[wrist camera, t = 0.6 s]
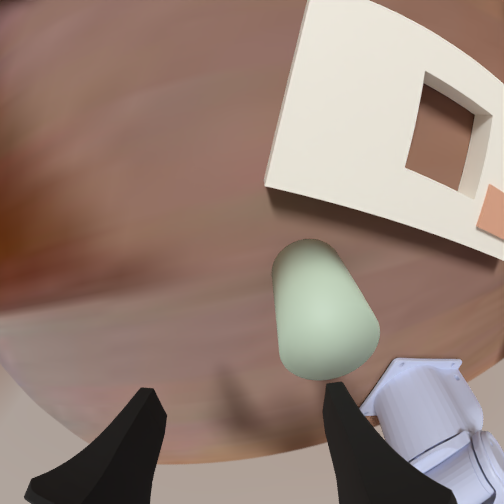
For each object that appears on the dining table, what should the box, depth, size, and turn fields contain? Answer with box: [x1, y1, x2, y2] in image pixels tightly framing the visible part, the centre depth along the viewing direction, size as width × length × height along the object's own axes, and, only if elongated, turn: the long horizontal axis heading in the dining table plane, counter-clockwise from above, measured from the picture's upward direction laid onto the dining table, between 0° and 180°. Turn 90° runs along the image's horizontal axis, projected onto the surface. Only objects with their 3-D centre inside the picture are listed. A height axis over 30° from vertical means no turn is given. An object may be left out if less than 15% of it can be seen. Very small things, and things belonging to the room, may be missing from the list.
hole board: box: [264, 0, 504, 261], centre depth 13 cm, size 20×12×2 cm, turn 77°
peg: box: [272, 239, 380, 380], centre depth 15 cm, size 4×4×7 cm
